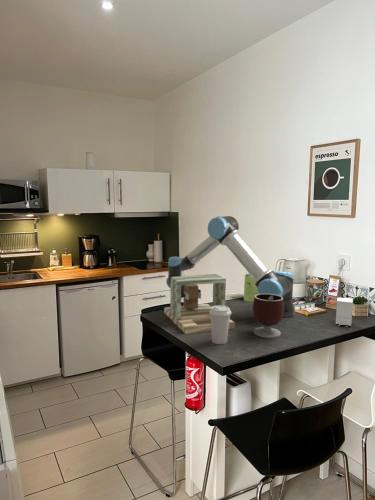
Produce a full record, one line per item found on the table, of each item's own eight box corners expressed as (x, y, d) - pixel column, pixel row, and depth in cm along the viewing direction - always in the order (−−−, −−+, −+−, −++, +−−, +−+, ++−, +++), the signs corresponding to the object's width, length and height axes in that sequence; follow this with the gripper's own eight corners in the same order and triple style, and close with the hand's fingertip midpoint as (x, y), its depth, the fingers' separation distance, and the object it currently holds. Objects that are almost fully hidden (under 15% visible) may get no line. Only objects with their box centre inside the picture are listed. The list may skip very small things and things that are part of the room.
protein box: (269, 303, 232) (270, 277, 229) (243, 301, 235) (244, 276, 233) (269, 298, 242) (270, 274, 240) (244, 296, 245) (245, 272, 243)
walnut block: (197, 308, 204) (198, 286, 202) (187, 309, 202) (187, 286, 200) (193, 305, 209) (194, 283, 208) (183, 306, 207) (183, 284, 206)
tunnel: (234, 328, 185) (235, 283, 182) (185, 333, 177) (186, 286, 174) (207, 308, 217) (207, 270, 214) (164, 312, 209) (164, 272, 206)
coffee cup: (207, 337, 173) (207, 305, 171) (228, 337, 173) (229, 304, 171) (210, 345, 163) (210, 311, 161) (232, 345, 164) (233, 311, 162)
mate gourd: (250, 327, 187) (251, 287, 184) (279, 328, 187) (281, 287, 184) (254, 339, 172) (256, 295, 169) (286, 340, 171) (288, 296, 168)
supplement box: (351, 323, 196) (353, 298, 195) (351, 327, 190) (352, 302, 188) (336, 320, 199) (337, 296, 198) (335, 325, 193) (336, 300, 191)
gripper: (195, 292, 225) (211, 302, 203) (163, 294, 218) (176, 305, 197) (195, 279, 224) (211, 288, 202) (163, 281, 217) (176, 290, 196)
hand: (194, 296), depth 200 cm, fingers closed on walnut block, 6 cm apart
